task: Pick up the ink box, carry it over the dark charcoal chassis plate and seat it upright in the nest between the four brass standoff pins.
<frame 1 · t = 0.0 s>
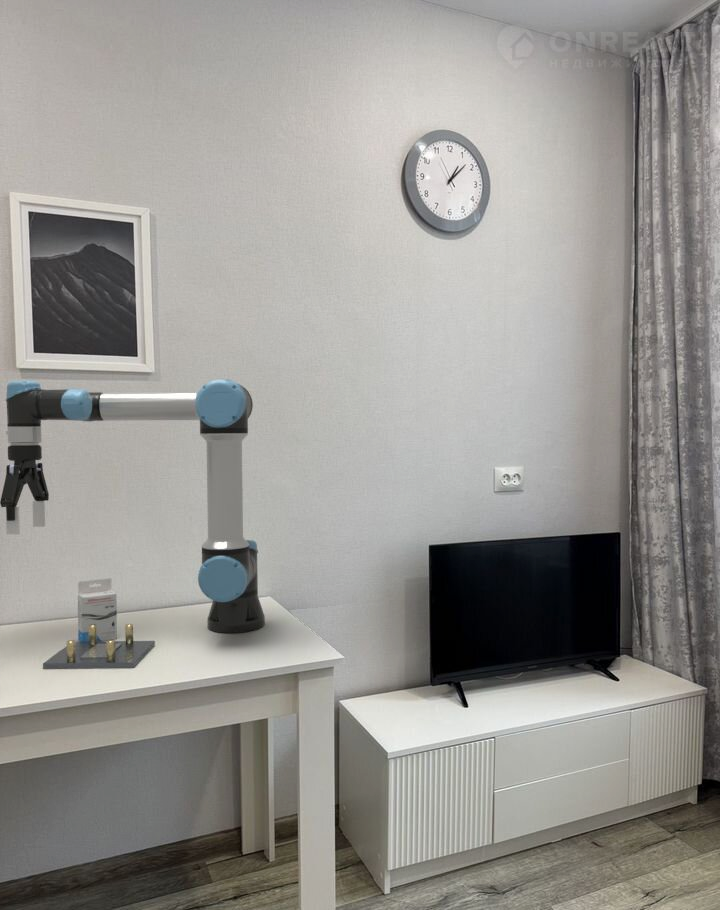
hand: (26, 530, 171), 28 cm above the table, fingers open, 13 cm apart
ink box: (97, 639, 174), on the table
chassis: (101, 656, 161), on the table
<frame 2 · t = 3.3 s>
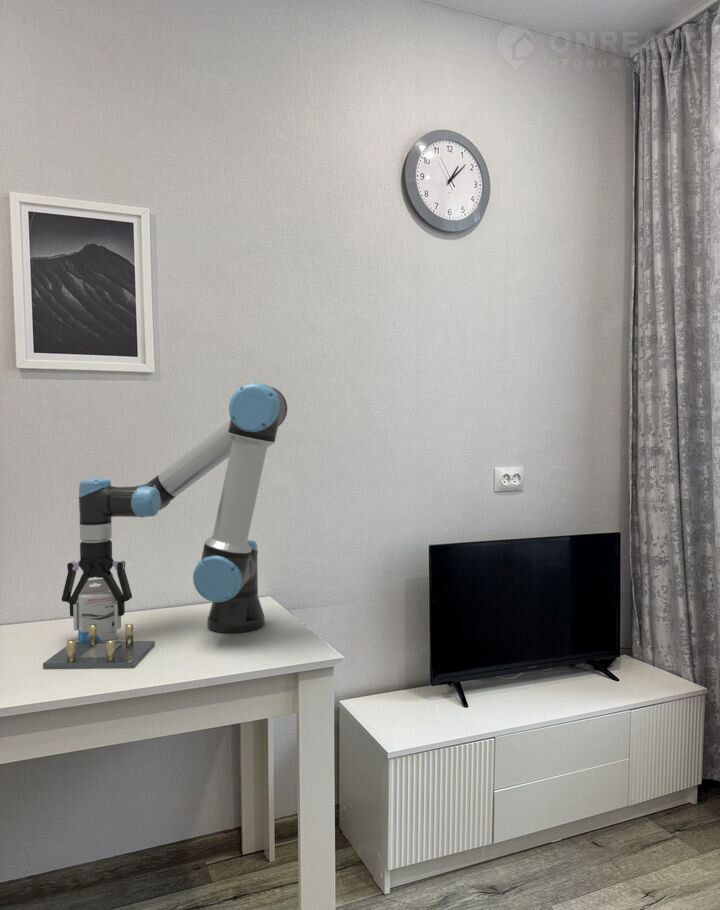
hand: (97, 628, 174), 3 cm above the table, fingers closed on ink box, 9 cm apart
ink box: (98, 639, 174), on the table, touching gripper
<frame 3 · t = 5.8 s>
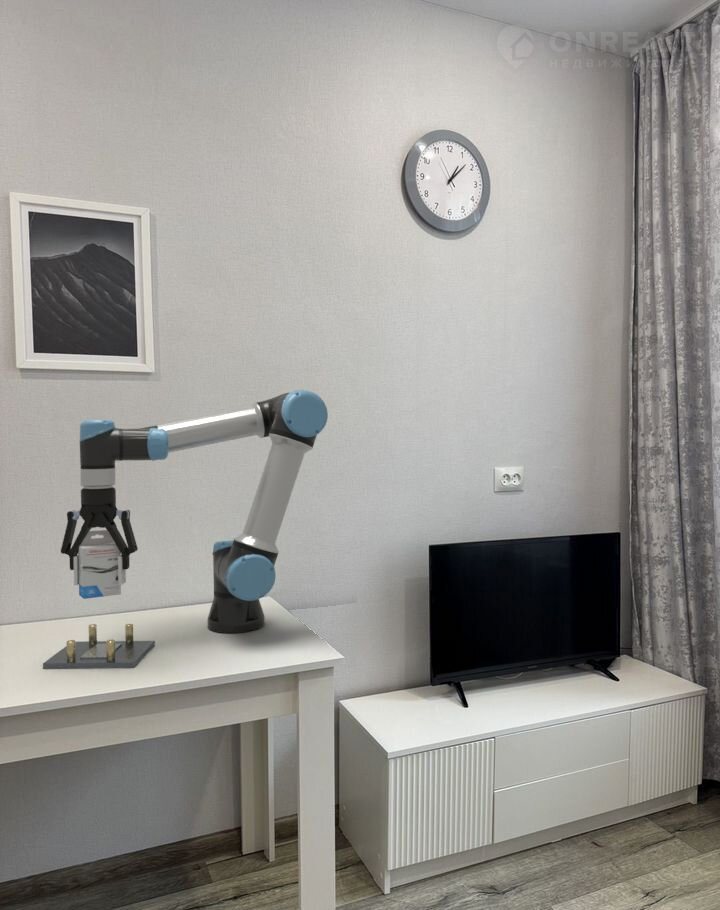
hand: (100, 583, 160), 17 cm above the table, fingers closed on ink box, 9 cm apart
ink box: (100, 595, 160), point 14 cm above the table, touching gripper
when the fingers open (6 cm above the table, at t = 8.3 s): ink box drops 1 cm, resting on chassis.
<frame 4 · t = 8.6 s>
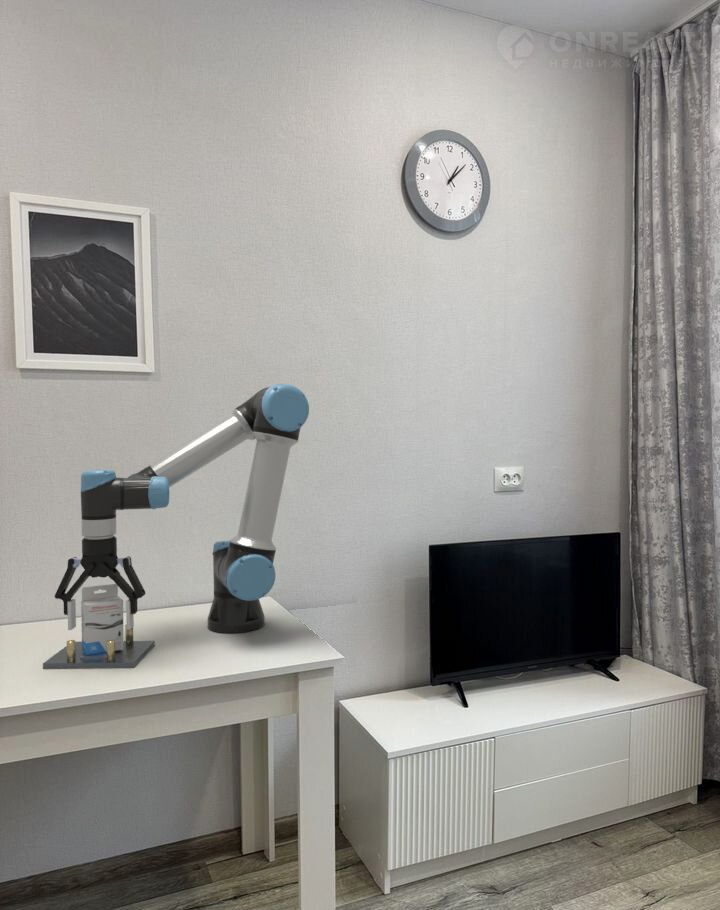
hand: (101, 628, 160), 7 cm above the table, fingers open, 13 cm apart
ink box: (103, 650, 161), point 1 cm above the table, touching chassis
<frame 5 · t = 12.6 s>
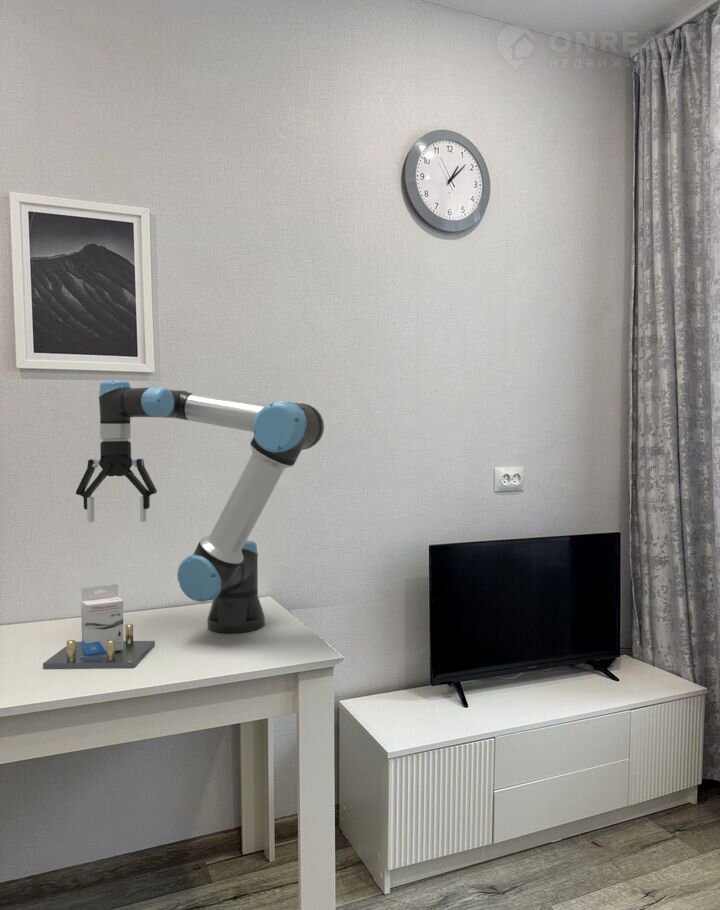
hand: (117, 521, 181), 29 cm above the table, fingers open, 13 cm apart
nothing on the table moved.
at the end: ink box 0.3 cm off-centre on the chassis, point 1.3 cm above the chassis's base; ink box tilted 0°; the gripper is holding nothing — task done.
